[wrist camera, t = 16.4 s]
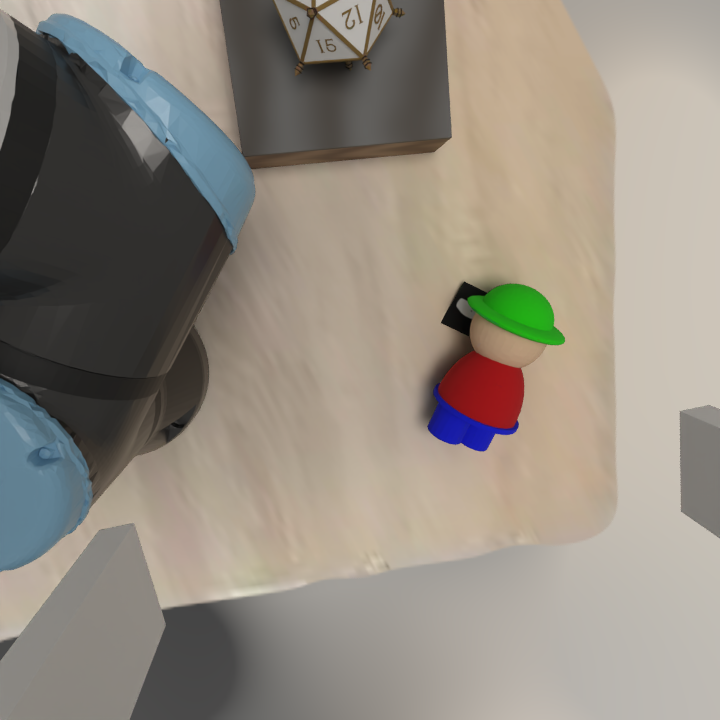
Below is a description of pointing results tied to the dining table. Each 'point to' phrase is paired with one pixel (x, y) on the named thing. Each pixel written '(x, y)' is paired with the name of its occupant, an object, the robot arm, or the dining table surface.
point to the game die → (334, 29)
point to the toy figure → (491, 362)
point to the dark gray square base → (338, 89)
